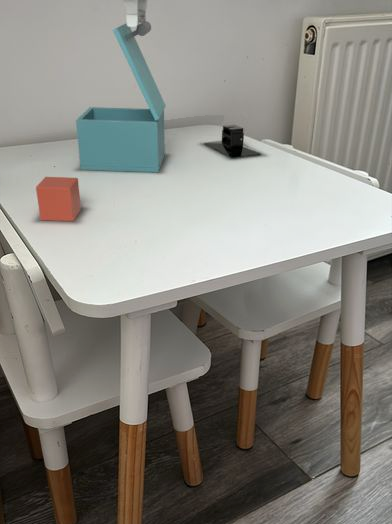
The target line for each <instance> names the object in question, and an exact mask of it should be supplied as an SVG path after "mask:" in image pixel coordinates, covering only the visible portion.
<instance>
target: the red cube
mask: <svg viewBox="0 0 392 524" xmlns="http://www.w3.org/2000/svg"><path fill="white" fill-rule="evenodd" d="M35 191H36V198H37V205H38V212H39V218H40V219H39V220H40V221H57V222H74V221H75V220H76V219H77V217H78V215H79V214H80V212H81V211H82V206H81V205H82V204H81V195H80V185H79V178H78V177H68V176H67V177H63V176H62V177H61V176H45V177H44V178H43V179H42V180H41V181H40V182H39V183H38V184H37V185H36V186H35Z"/></svg>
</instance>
